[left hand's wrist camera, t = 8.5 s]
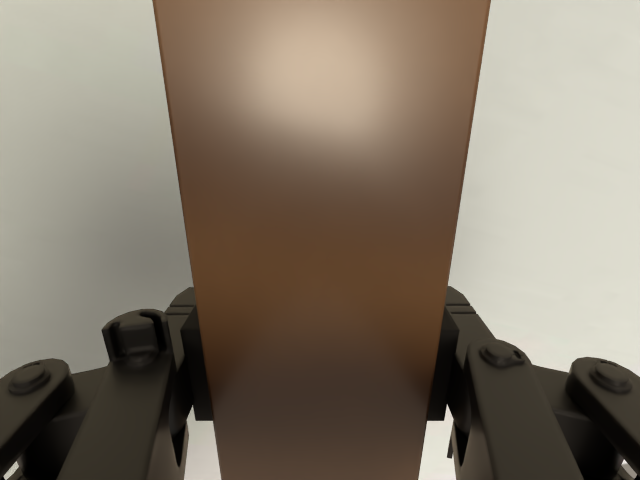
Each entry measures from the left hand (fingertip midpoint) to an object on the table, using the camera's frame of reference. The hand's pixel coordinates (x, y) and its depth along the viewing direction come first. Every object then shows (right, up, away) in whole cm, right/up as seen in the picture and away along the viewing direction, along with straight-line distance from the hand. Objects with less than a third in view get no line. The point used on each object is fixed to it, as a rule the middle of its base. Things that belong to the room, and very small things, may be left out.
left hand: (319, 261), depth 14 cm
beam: (0, +20, -7) cm, 21 cm away
